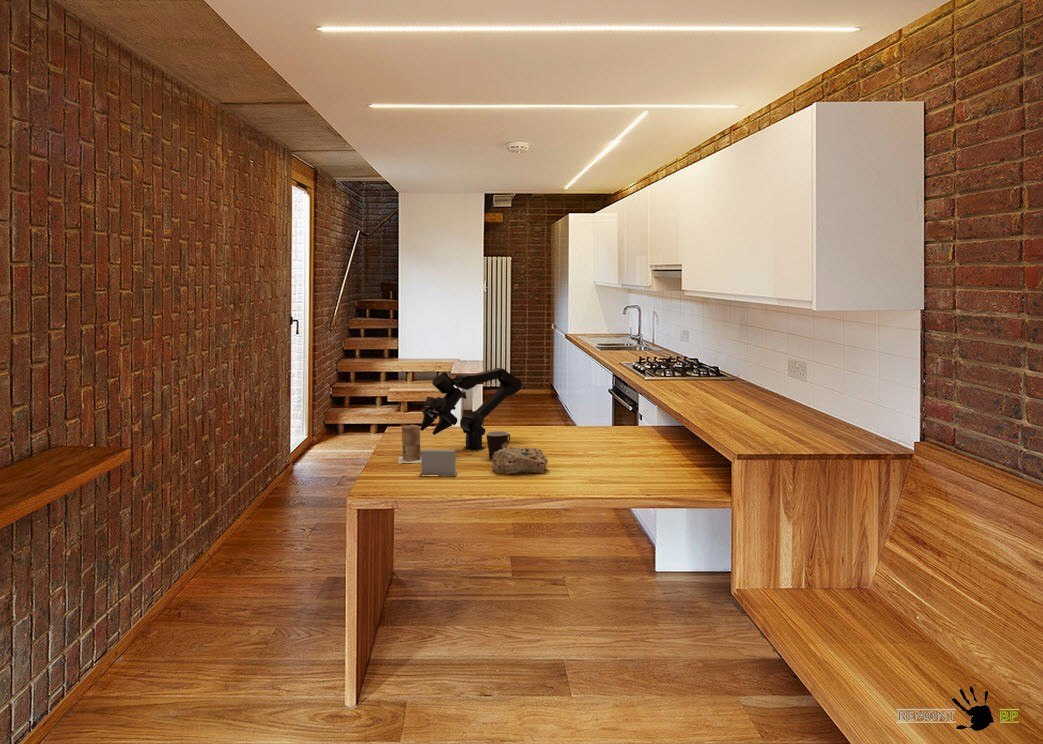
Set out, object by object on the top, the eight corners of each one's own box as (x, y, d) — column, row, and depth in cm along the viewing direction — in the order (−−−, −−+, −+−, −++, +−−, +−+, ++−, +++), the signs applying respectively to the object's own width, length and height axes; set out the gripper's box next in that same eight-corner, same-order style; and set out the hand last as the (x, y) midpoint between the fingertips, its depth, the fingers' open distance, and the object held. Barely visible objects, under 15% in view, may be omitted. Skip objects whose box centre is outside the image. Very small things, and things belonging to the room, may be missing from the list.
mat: (424, 463, 288) (424, 462, 288) (398, 464, 287) (398, 463, 287) (425, 456, 298) (425, 455, 297) (399, 457, 296) (399, 456, 296)
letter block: (414, 457, 296) (413, 424, 294) (420, 459, 292) (419, 426, 290) (402, 459, 292) (401, 426, 290) (408, 461, 288) (407, 428, 287)
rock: (541, 466, 287) (545, 442, 283) (548, 485, 273) (553, 460, 270) (488, 463, 283) (491, 439, 279) (492, 482, 269) (496, 457, 266)
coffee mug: (492, 462, 288) (492, 436, 287) (482, 457, 296) (482, 432, 294) (519, 458, 293) (519, 433, 292) (509, 453, 301) (509, 429, 300)
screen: (457, 473, 273) (457, 449, 272) (455, 476, 269) (455, 452, 267) (422, 473, 274) (421, 448, 273) (419, 476, 270) (419, 451, 268)
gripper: (424, 385, 303) (401, 416, 298) (449, 391, 288) (426, 424, 283) (442, 402, 309) (419, 432, 304) (467, 408, 294) (444, 441, 289)
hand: (426, 432), depth 295 cm, fingers open, 9 cm apart
